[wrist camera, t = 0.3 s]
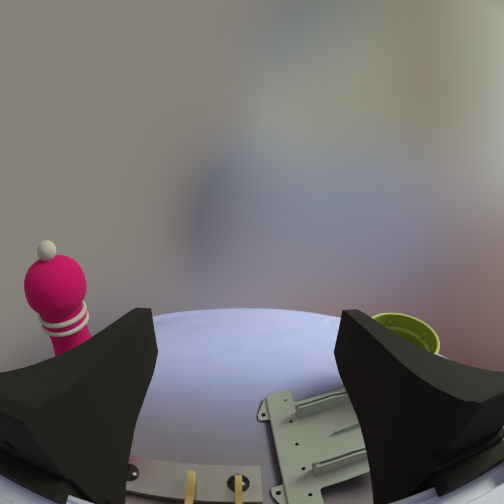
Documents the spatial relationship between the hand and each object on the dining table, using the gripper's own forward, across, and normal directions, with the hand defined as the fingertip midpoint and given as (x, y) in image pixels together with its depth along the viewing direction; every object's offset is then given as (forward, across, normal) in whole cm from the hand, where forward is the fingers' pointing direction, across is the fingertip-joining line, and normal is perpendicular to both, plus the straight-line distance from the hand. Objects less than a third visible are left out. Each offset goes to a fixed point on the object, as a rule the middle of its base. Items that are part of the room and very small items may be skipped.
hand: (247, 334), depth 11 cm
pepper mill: (+11, +16, +20) cm, 28 cm away
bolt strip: (+3, +6, +20) cm, 21 cm away
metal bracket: (+8, -10, +20) cm, 24 cm away
